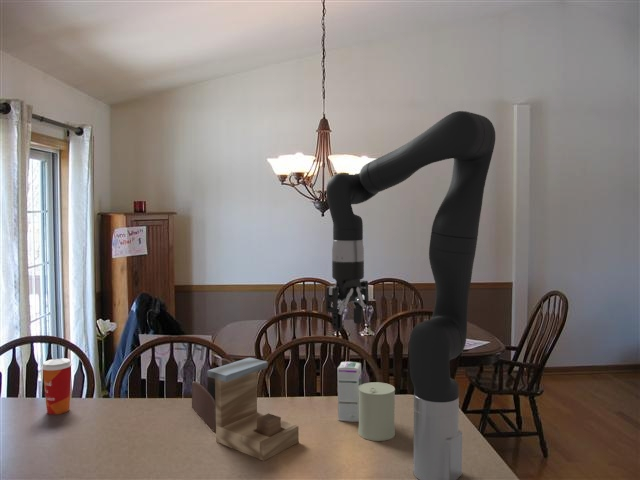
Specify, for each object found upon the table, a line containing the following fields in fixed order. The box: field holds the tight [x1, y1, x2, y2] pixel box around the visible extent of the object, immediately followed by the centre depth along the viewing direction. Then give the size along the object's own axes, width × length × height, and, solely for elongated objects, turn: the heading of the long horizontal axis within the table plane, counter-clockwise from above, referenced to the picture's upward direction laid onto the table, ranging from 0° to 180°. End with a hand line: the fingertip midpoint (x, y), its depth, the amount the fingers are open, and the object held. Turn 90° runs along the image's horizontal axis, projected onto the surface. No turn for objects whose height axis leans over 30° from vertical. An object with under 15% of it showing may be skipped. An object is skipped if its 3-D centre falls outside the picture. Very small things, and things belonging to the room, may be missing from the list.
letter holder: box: [191, 358, 233, 433], centre depth 146 cm, size 10×20×14 cm, turn 30°
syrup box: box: [337, 361, 362, 423], centre depth 144 cm, size 6×6×14 cm
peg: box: [257, 412, 282, 437], centre depth 127 cm, size 4×4×7 cm
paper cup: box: [41, 357, 73, 415], centre depth 149 cm, size 8×8×14 cm
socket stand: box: [207, 357, 300, 462], centre depth 130 cm, size 18×14×18 cm
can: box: [357, 381, 396, 442], centre depth 134 cm, size 9×9×12 cm
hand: (348, 326), depth 128 cm, fingers open, 8 cm apart
